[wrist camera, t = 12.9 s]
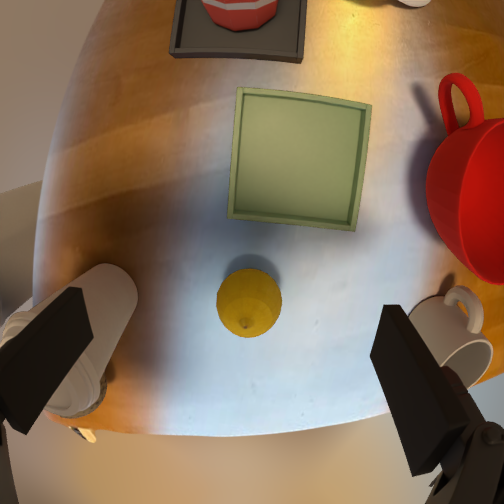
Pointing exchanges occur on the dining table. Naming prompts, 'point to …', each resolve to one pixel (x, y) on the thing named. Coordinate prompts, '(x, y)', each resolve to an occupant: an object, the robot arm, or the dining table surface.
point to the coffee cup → (103, 327)
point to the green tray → (297, 158)
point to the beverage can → (240, 12)
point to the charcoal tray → (239, 34)
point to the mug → (415, 2)
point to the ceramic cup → (469, 184)
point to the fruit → (249, 302)
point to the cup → (455, 333)
